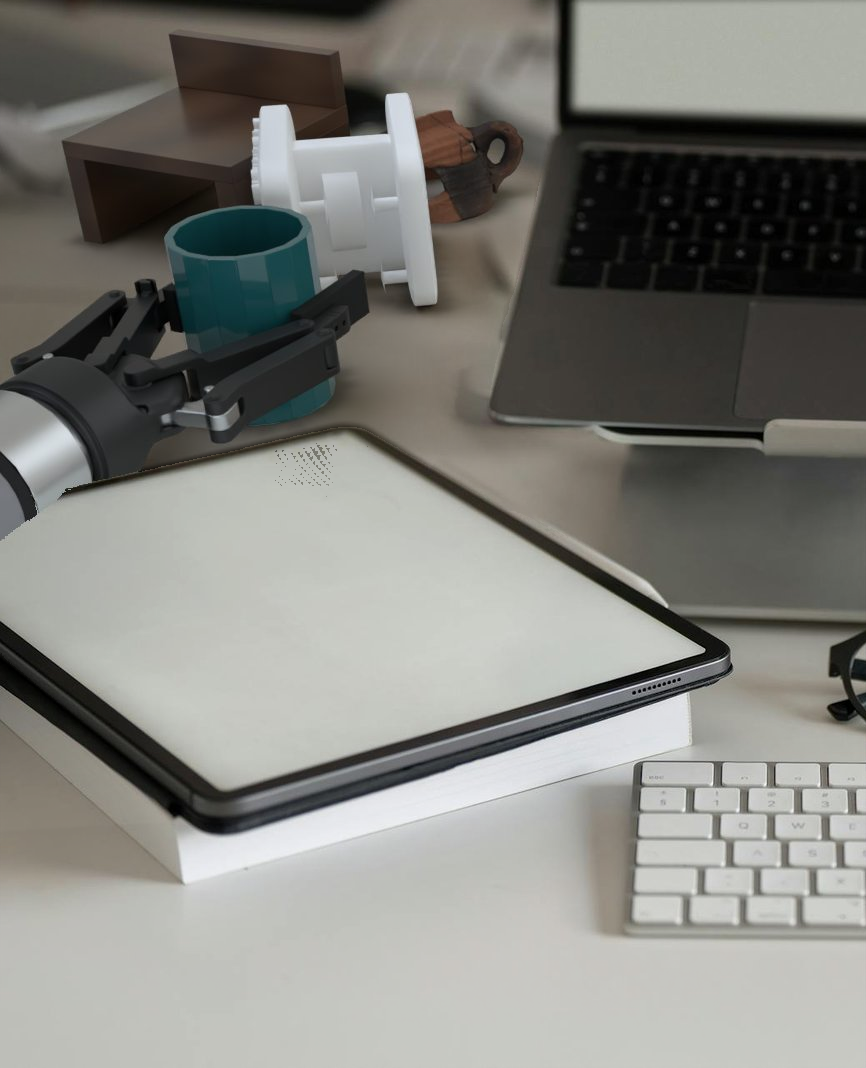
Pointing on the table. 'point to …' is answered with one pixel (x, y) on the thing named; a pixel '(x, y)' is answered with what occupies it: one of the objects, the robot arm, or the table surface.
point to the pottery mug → (464, 163)
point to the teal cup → (245, 282)
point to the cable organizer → (353, 196)
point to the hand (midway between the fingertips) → (299, 280)
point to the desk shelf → (200, 129)
